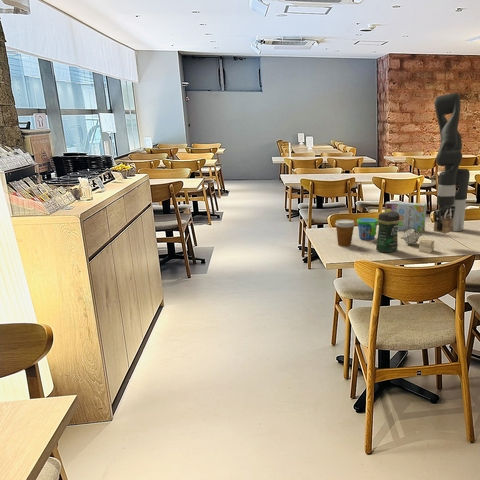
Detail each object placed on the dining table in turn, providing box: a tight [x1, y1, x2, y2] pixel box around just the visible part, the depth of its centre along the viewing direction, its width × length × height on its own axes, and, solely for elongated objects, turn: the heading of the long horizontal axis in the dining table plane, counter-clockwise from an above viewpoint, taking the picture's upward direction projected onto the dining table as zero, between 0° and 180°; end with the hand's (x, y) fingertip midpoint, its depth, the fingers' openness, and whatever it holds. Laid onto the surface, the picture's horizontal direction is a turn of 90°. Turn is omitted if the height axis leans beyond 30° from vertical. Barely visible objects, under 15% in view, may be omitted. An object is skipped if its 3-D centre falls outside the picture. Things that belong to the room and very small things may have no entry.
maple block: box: [418, 238, 435, 254], centre depth 201 cm, size 5×5×5 cm
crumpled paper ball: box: [400, 228, 422, 247], centre depth 212 cm, size 9×8×10 cm
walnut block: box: [433, 218, 454, 234], centre depth 204 cm, size 6×6×6 cm
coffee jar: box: [375, 211, 399, 254], centre depth 202 cm, size 10×8×19 cm
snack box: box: [383, 201, 428, 233], centre depth 240 cm, size 21×6×15 cm, turn 58°
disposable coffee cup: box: [334, 218, 356, 247], centre depth 215 cm, size 10×10×12 cm
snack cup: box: [356, 217, 379, 241], centre depth 225 cm, size 16×10×10 cm
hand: (443, 229), depth 204 cm, fingers closed on walnut block, 6 cm apart
